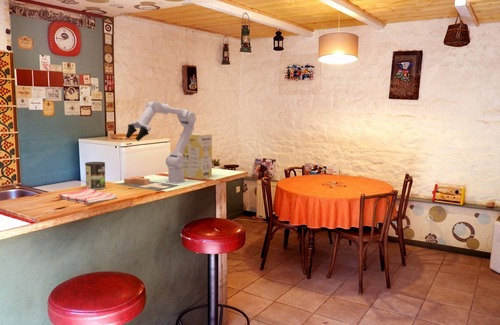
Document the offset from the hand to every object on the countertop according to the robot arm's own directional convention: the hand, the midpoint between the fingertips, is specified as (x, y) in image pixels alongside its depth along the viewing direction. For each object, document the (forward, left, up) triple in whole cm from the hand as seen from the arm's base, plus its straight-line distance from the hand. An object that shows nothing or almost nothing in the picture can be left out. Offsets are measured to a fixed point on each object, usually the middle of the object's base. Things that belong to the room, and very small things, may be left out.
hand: (132, 138), depth 224 cm
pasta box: (-53, +3, -28) cm, 60 cm away
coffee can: (+9, -19, -28) cm, 35 cm away
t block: (-13, -8, -27) cm, 31 cm away
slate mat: (-13, -2, -28) cm, 31 cm away
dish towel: (+28, -2, -29) cm, 40 cm away
